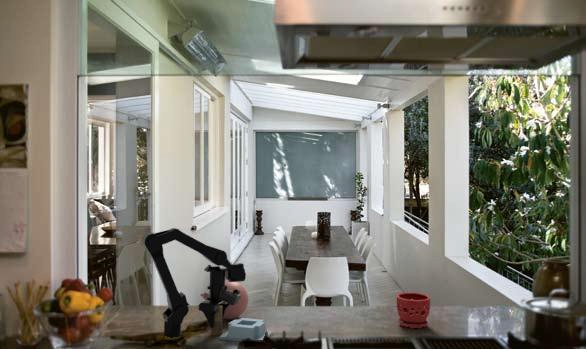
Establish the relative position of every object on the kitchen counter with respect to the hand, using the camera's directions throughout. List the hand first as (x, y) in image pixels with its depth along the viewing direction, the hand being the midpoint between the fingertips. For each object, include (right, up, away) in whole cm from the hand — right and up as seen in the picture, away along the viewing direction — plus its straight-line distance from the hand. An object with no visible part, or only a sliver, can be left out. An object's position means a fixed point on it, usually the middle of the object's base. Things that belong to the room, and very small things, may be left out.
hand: (216, 325), depth 188 cm
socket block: (+12, -3, -4) cm, 12 cm away
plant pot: (+76, -5, +14) cm, 77 cm away
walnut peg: (0, -3, 0) cm, 3 cm away
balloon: (0, -4, +23) cm, 23 cm away
